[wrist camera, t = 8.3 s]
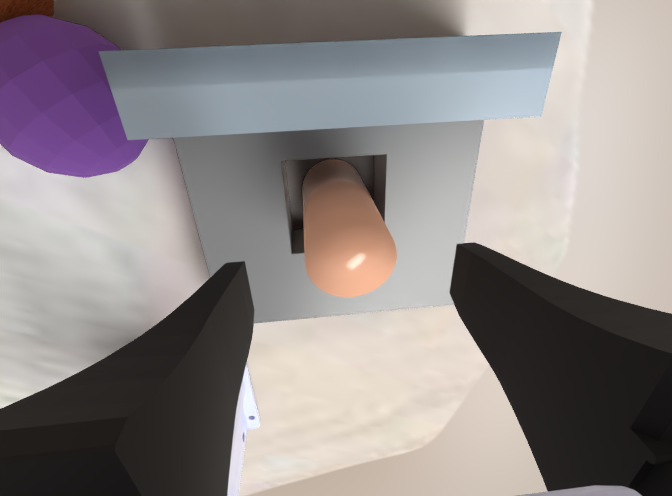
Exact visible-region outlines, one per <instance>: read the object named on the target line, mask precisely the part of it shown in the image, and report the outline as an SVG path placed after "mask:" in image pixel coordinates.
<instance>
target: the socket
mask: <svg viewBox="0 0 672 496" xmlns="http://www.w3.org/2000/svg"><path fill="white" fill-rule="evenodd" d="M560 36H561V32H548V33H524V34H500V35H477V36H453V37H429V38H405V39H381V40H358V41H334V42H310V43H286V44H262V45H239V46H215V47H191V48H167V49H143V50H120V51H98V52H99V55H100V58H101V61H102V64H103V67H104V70H105V73H106V76H107V79H108V82H109V85H110V88H111V91H112V94H113V97H114V100H115V103H116V106H117V109H118V112H119V115H120V119H121V122H122V125H123V128H124V131H125V134H126V137H127V140H142V139H159V138H174V142H175V146H176V150H177V154H178V157H179V161H180V165H181V169H182V173H183V176H184V180H185V184H186V188H187V192H188V195H189V199H190V203H191V207H192V210H193V214H194V218H195V222H196V226H197V229H198V233H199V237H200V241H201V245H202V248H203V252H204V256H205V260H206V264H207V267H208V271H209V275H210V278H211V277H212V276H213V275H214V274H215V273H216V272H217V271H218V270H219V269H220V268H221V267H222V266H223V265H224V264H225V263H229V262H241V261H245V265H246V270H247V275H248V280H249V285H250V290H251V295H252V300H253V305H254V323H262V322H273V321H284V320H295V319H306V318H317V317H327V316H338V315H349V314H360V313H371V312H382V311H393V310H403V309H414V308H425V307H436V306H447V305H454V302H453V300H452V297H451V295H450V293H449V292H450V285H451V279H452V272H453V266H454V259H455V252H456V246H457V244H463V243H464V239H465V233H466V227H467V221H468V214H469V208H470V202H471V196H472V190H473V184H474V178H475V172H476V165H477V159H478V153H479V147H480V141H481V135H482V129H483V122H484V120H487V119H505V118H522V117H539V116H541V115H542V111H543V107H544V103H545V99H546V94H547V90H548V86H549V82H550V78H551V73H552V69H553V65H554V61H555V57H556V53H557V48H558V44H559V40H560ZM367 155H375V157H374V204H375V205H376V207H377V209H378V211H379V213H380V215H381V217H382V219H383V221H384V223H385V224H386V226H387V228H388V230H389V232H390V234H391V236H392V238H393V240H394V242H395V245H396V251H397V259H396V264H395V267H394V269H393V271H392V273H391V275H390V276H389V278H388V279H387V280H386V281H385V282H384V283H383V284H382V285H381V286H380V287H378V288H377V289H375V290H373V291H372V292H369V293H367V294H364V295H361V296H356V297H338V296H334V295H331V294H328V293H326V292H324V291H322V290H321V289H319V288H318V287H317V286H316V285H315V284H314V283H313V282H312V281H311V279H310V278H309V276H308V274H307V271H306V267H305V253H304V229H296V230H293V229H292V220H291V211H290V202H289V193H288V184H287V175H286V167H285V161H287V160H303V159H319V158H335V157H351V156H367Z"/></svg>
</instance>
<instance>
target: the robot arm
mask: <svg viewBox="0 0 672 496" xmlns="http://www.w3.org/2000/svg"><path fill="white" fill-rule="evenodd" d="M449 293H450V295H451V297H452V300H453V302H454V305H455V307H456V309H457V311H458V314H459V316H460V318H461V319H462V321H463V323H464V324H465V326H466V328H467V329H468V331H469V333H470V334H471V336H472V337H473V339H474V341H475V342H476V344H477V345H478V347H479V348H480V350H481V352H482V353H483V355H484V356H485V358H486V360H487V361H488V363H489V364H490V366H491V368H492V369H493V371H494V373H495V374H496V376H497V378H498V380H499V381H500V383H501V385H502V388H503V390H504V392H505V394H506V396H507V398H508V400H509V402H510V404H511V406H512V408H513V410H514V412H515V415H516V417H517V419H518V421H519V424H520V426H521V428H522V430H523V432H524V435H525V437H526V439H527V441H528V444H529V446H530V448H531V451H532V453H533V456H534V458H535V461H536V463H537V465H538V468H539V470H540V473H541V475H542V477H543V480H544V483H545V485H546V488H547V490H548V492H542V493H534V494H525V495H518V496H672V314H670V313H665V312H661V311H657V310H653V309H649V308H644V307H641V306H638V305H634V304H630V303H627V302H623V301H619V300H616V299H612V298H609V297H606V296H603V295H600V294H597V293H594V292H591V291H588V290H585V289H582V288H579V287H576V286H574V285H571V284H568V283H566V282H563V281H561V280H558V279H556V278H553V277H551V276H549V275H546V274H544V273H542V272H539V271H537V270H535V269H532V268H530V267H528V266H526V265H524V264H522V263H519V262H517V261H515V260H513V259H511V258H509V257H507V256H505V255H502V254H500V253H498V252H496V251H494V250H492V249H489V248H487V247H485V246H482V245H480V244H477V243H463V244H457V246H456V252H455V259H454V266H453V272H452V279H451V285H450V292H449ZM253 323H254V305H253V300H252V295H251V290H250V285H249V280H248V275H247V270H246V265H245V261H241V262H229V263H225V264H224V265H223V266H222V267H221V268H220V269H219V270H218V271H217V272H216V273H215V274H214V275H213V276H212V277H211V278H210V279H209V280H207V281H206V282H205V283H204V284H203V285H202V286H201V287H200V288H199V289H198V290H197V291H196V292H195V293H194V294H193V295H192V296H191V297H189V298H188V299H187V300H186V301H185V302H184V303H182V304H181V305H180V306H179V307H178V308H177V309H175V310H174V311H173V312H172V313H171V314H169V315H168V316H167V317H166V318H164V319H163V320H162V321H161V322H159V323H158V324H157V325H155V326H154V327H152V328H151V329H150V330H148V331H147V332H145V333H144V334H142V335H141V336H140V337H138V338H137V339H135V340H134V341H132V342H130V343H129V344H127V345H125V346H124V347H122V348H120V349H119V350H117V351H116V352H114V353H112V354H111V355H109V356H107V357H106V358H104V359H102V360H101V361H99V362H97V363H95V364H93V365H92V366H90V367H88V368H86V369H84V370H82V371H81V372H79V373H77V374H75V375H73V376H71V377H69V378H67V379H65V380H63V381H61V382H59V383H57V384H55V385H53V386H51V387H49V388H46V389H44V390H42V391H40V392H38V393H35V394H33V395H31V396H29V397H26V398H24V399H22V400H20V401H17V402H15V403H13V404H11V405H9V406H6V407H4V408H2V409H0V496H238V494H239V487H240V480H241V473H242V466H243V459H244V452H245V445H246V437H247V430H248V429H255V428H258V427H259V426H260V418H259V414H258V410H257V405H256V401H255V397H254V393H253V388H252V384H251V380H250V376H249V371H248V367H247V363H246V362H247V358H248V353H249V349H250V344H251V340H252V334H253Z"/></svg>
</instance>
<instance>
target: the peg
mask: <svg viewBox="0 0 672 496" xmlns="http://www.w3.org/2000/svg"><path fill="white" fill-rule="evenodd" d="M302 192H303V223H304V253H305V267H306V271H307V274H308V276H309V278H310V279H311V281H312V282H313V283H314V284H315V285H316V286H317V287H318V288H319V289H321V290H322V291H324V292H326V293H328V294H331V295H334V296H338V297H356V296H361V295H364V294H367V293H369V292H372V291H373V290H375V289H377V288H378V287H380V286H381V285H382V284H383V283H384V282H385V281H386V280H387V279H388V278H389V276H390V275H391V273H392V271H393V269H394V267H395V264H396V259H397V251H396V245H395V242H394V240H393V238H392V236H391V234H390V232H389V230H388V228H387V226H386V224H385V223H384V221H383V219H382V217H381V215H380V213H379V211H378V209H377V207H376V205H375V204H374V202H373V200H372V198H371V196H370V194H369V192H368V190H367V188H366V186H365V185H364V183H363V181H362V179H361V177H360V175H359V173H358V172H357V170H356V169H355V168H354V167H353V166H352V165H350V164H349V163H347V162H345V161H342V160H337V159H330V160H325V161H322V162H319V163H317V164H316V165H314V166H313V167H312V168H311V169H310V170H309V171H308V173H307V174H306V176H305V178H304V181H303V188H302Z"/></svg>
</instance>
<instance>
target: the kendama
mask: <svg viewBox="0 0 672 496" xmlns="http://www.w3.org/2000/svg"><path fill="white" fill-rule="evenodd" d="M52 15H53V1H52V0H0V144H1V145H2V146H3V147H4V148H5V149H6V150H7V151H8V152H9V153H10V154H11V155H12V156H14V157H17V158H19V159H21V160H23V161H25V162H27V163H29V164H31V165H33V166H36V167H38V168H40V169H42V170H44V171H46V172H49V173H56V174H63V175H70V176H77V177H92V176H97V175H101V174H106V173H111V172H116V171H118V170H120V169H122V168H124V167H126V166H127V165H129V164H130V163H132V162H133V161H134V160H135V159H137V158H138V156H139V155H140V153H141V151H142V150H143V148H144V146H145V145H146V143H147V141H148V140H149V139H142V140H127V137H126V134H125V131H124V128H123V125H122V122H121V119H120V115H119V112H118V109H117V106H116V103H115V100H114V97H113V94H112V91H111V88H110V85H109V82H108V79H107V76H106V73H105V70H104V67H103V64H102V61H101V58H100V55H99V52H98V51H120V49H119V47H117V46H116V45H114V44H113V43H111V42H110V41H108V40H107V39H105V38H104V37H102V36H101V35H99V34H98V33H96V32H95V31H93V30H92V29H90V28H89V27H87V26H83V25H79V24H75V23H71V22H67V21H63V20H60V19H56V18H52Z"/></svg>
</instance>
